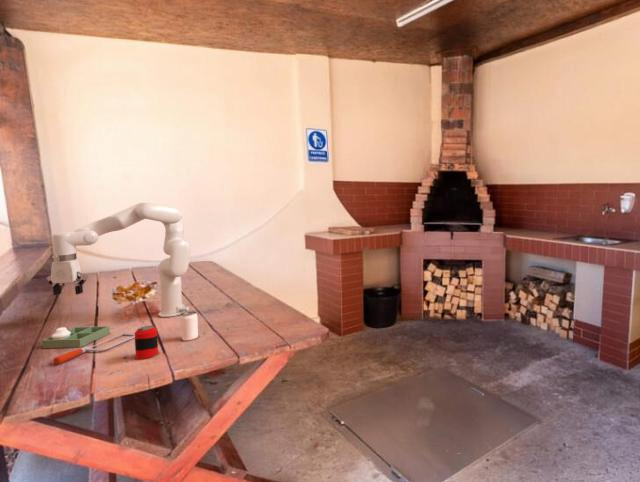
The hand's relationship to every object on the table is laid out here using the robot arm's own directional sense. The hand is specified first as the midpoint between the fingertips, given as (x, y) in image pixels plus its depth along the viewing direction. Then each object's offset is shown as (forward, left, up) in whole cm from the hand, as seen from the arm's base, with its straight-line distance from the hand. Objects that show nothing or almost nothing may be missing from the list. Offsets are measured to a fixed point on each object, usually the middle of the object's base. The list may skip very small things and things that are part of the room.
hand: (68, 293), depth 183 cm
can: (-56, +2, -22) cm, 60 cm away
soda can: (-49, +20, -22) cm, 58 cm away
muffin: (0, +5, -21) cm, 22 cm away
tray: (-4, +1, -22) cm, 22 cm away
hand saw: (-23, +11, -22) cm, 34 cm away
